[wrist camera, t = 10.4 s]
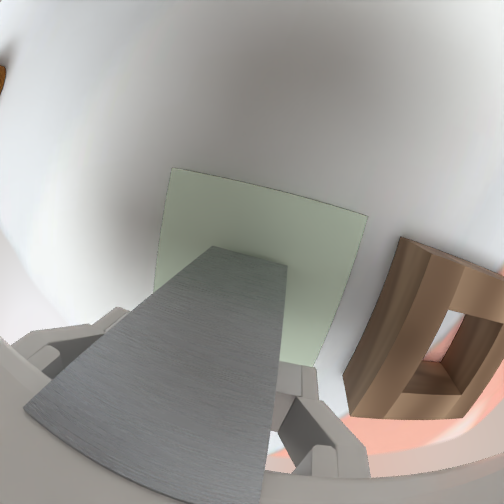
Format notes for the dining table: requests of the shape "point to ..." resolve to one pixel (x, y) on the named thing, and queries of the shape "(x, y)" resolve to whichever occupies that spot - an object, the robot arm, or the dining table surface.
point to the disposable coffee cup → (2, 76)
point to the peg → (181, 384)
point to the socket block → (427, 339)
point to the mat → (265, 246)
